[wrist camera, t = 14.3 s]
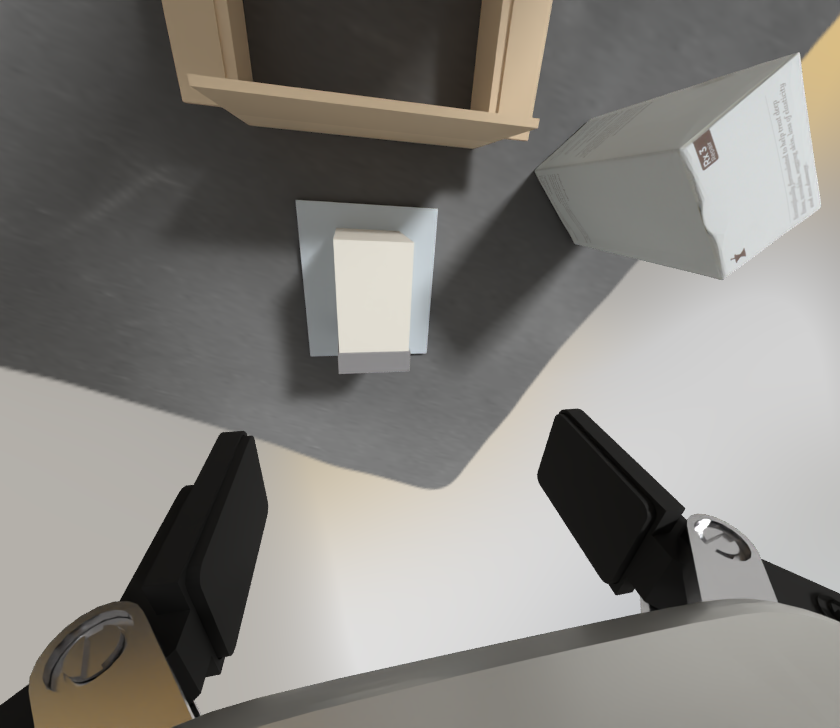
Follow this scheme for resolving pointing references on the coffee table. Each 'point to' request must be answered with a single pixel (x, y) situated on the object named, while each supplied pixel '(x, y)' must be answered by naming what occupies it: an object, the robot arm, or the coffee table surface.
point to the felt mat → (320, 269)
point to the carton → (359, 115)
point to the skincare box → (692, 172)
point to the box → (373, 299)
